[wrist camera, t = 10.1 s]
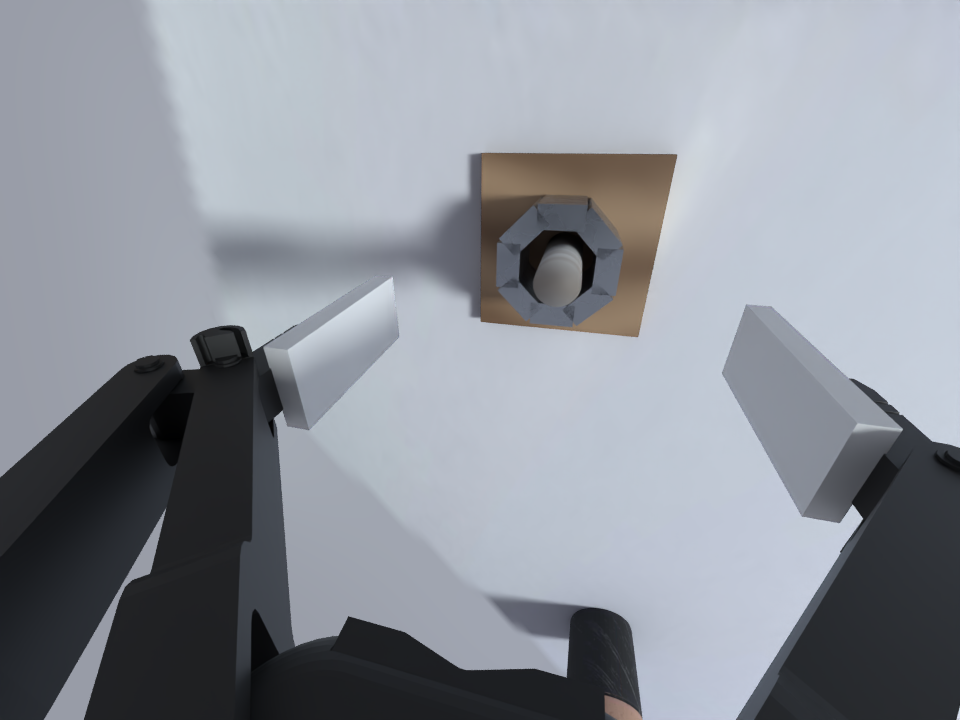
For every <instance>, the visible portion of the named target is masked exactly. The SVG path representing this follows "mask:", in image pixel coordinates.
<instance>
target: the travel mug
mask: <svg viewBox="0 0 960 720" xmlns="http://www.w3.org/2000/svg"><path fill="white" fill-rule="evenodd" d="M567 678H569V679H573V680H577V681H580V682H584V683H587V684H591V685H594V686H598V687H601V688H604V692H605V712H606V713H607V714H609V715H610V716H612V717H614V718H615V719H617V720H642V711H641V703H640V695H639V687H638V678H637V670H636V662H635V654H634V646H633V638H632V632H631V628H630V625H629V624H628V622H627V621H626V620H625V619H624V618H622V617H621V616H619V615H617V614H615V613H613V612H611V611H607V610H603V609H596V608H590V609H583V610H580V611H578V612H576V613H575V614H574V615H573V616H572V619H571V624H570V637H569V652H568V667H567Z"/></svg>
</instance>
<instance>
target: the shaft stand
mask: <svg viewBox="0 0 960 720" xmlns="http://www.w3.org/2000/svg"><path fill="white" fill-rule="evenodd" d="M676 159H677V155H675V154H552V153H482V179H481V322H488V323H498V324H508V325H519V326H529V327H539V328H549V329H560V330H570V331H580V332H590V333H601V334H611V335H621V336H631V337H638V335H639V330H640V326H641V321H642V316H643V312H644V307H645V302H646V298H647V293H648V288H649V284H650V279H651V275H652V270H653V265H654V261H655V256H656V251H657V247H658V242H659V237H660V233H661V228H662V224H663V219H664V214H665V210H666V205H667V200H668V196H669V191H670V186H671V182H672V177H673V173H674V168H675V163H676ZM545 195H580V196H588V200H589V199H590V198H592V199H593V200H594V201H595V203H596V204H597V205H598V206H599V208H600V209H601V210H602V211H603V213H604V214H605V215H606V216H607V218H608V219H609V220H610V221H611V223H612V224H613V225H614V226H615V228H616V229H617V231H618V234H619V236H620V239H621V242H622V246H623V249H624V252H623V257H622V263H621V269H620V274H619V280H618V286H617V291H616V296H613V300H612V301H611V302H609V303H608V304H607V305H605V306H604V307H602V308H601V309H600V310H598V311H597V312H596V313H594V314H593V315H591V316H590V317H589V318H587V319H586V320H584V321H583V322H582V323H580V324H579V325H577V326H576V325H575V324H574V323H573V327H564V326H553V325H543V324H532V323H530V319H528V320H527V321H525V320H524V319H523V318H522V317H521V315H520V314H519V313H518V312H517V311H516V310H515V309H514V308H513V307H512V306H511V305H510V303H509V302H508V301H507V300H506V299H505V298H504V297H503V296H502V295H501V294H500V293H499V291H498V289H499V287H496V271H497V242H498V241H499V240H500V239H499V238H500V237H501V236H502V235H503V234H504V233H505V232H506V231H507V230H508V229H509V228H510V227H511V226H512V225H513V224H514V223H515V222H516V221H517V220H518V219H519V218H520V217H521V216H522V215H523V214H524V213H525V212H526V211H527V210H528V209H529V208H530V207H531V206H532V205H533V204H535V203H536V202H537V201H538V200H539V199H540V198H541V197H542V196H543V197H544V196H545ZM592 258H593V251H592V250H591V249H590V247H589V246H588V245H587V244H586V243H585V241H584V240H583V239H582V238H581V236H580V235H579V234H578V233H577V232H575V231H554V230H543V231H542V232H541V233H540V234H539V235H538V236H537V237H536V238H535V239H533V240H532V241H531V242H530V252H529V262H530V263H531V264H532V266H533V267H534V268H535V269H536V270H537V272H536V274H535V277H534V280H533V288H534V292H535V294H536V296H537V297H538V299H539V300H540V301H541V302H543V303H544V304H546V305H548V306H552V307H562V306H565V305H568V304H570V303H571V302H573V301H574V300H575V299H576V298H577V296H578V295H579V293H580V290H581V283H582V273H583V272H584V271H585V270H586V269H588V268H589V267H590V266H591V265H592Z"/></svg>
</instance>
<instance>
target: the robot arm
mask: <svg viewBox="0 0 960 720" xmlns="http://www.w3.org/2000/svg"><path fill="white" fill-rule="evenodd" d="M398 338H399V330H398V321H397V312H396V303H395V294H394V285H393V277H390V276H377V275H375V276H374V277H372V278H371V279H369V280H368V281H366V282H364V283H363V284H361V285H360V286H358V287H356V288H355V289H353V290H352V291H350V292H349V293H347V294H345V295H344V296H342V297H341V298H339V299H338V300H336V301H334V302H333V303H331V304H330V305H328V306H327V307H325V308H323V309H322V310H320V311H319V312H317V313H316V314H314V315H312V316H311V317H309V318H308V319H306V320H305V321H303V322H301V323H300V324H298V325H295V326H293V327H291V328H290V329H288V330H287V331H285V332H284V334H280V335H279V336H277V337H275V339H272V340H271V341H269V342H268V343H266V344H264V345H263V346H261V347H260V348H258V349H256V350H255V351H253V352H252V349H251V346H250V343H249V340H248V337H247V334H246V331H245V329H244V328H243V327H240V326H233V325H229V326H219V327H215V328H210V329H207V330H205V331H202V332H199V333H198V334H196V335H195V336H193V337H192V338H191V339H190V342H191V344H192V346H193V349H194V351H195V354H196V356H197V359H198V361H199V364H200V366H201V367H200V369H196V370H182V369H181V366H180V364H179V362H178V360H177V358H176V357H175V356H171V355H157V356H152V355H151V356H146V357H145V358H144V357H143V358H140V359H137V361H135V362H132V363H130V364H128V365H127V366H125V367H124V368H122V369H121V370H120V371H119V372H118V373H116V374H115V375H114V376H113V377H112V378H111V379H110V380H109V381H107V382H106V383H105V384H104V385H103V386H102V387H101V388H100V389H99V390H97V392H95V393H94V394H93V395H92V396H91V397H90V398H89V399H87V401H85V402H84V403H83V404H82V405H81V406H80V407H78V409H76V410H75V411H74V412H73V413H72V414H71V415H70V416H68V417H67V418H66V419H65V420H64V421H63V422H62V423H61V424H60V425H58V426H57V427H56V428H55V429H54V430H53V431H52V432H51V433H49V434H48V436H46V437H45V438H44V439H43V440H42V441H41V442H39V443H38V444H37V445H36V446H35V447H34V448H33V449H32V450H31V451H29V452H28V453H27V454H26V455H25V456H24V457H23V458H22V459H21V460H19V461H18V462H17V463H16V464H15V465H14V466H13V467H12V468H10V469H9V470H8V471H7V472H6V473H5V474H4V475H3V476H1V477H0V720H44V718H45V717H46V715H47V713H48V712H49V710H50V709H51V707H52V705H53V703H54V702H55V700H56V698H57V696H58V695H59V693H60V691H61V689H62V688H63V686H64V684H65V682H66V681H67V679H68V677H69V676H70V674H71V672H72V670H73V668H74V667H75V665H76V663H77V662H78V660H79V658H80V656H81V655H82V653H83V651H84V649H85V648H86V646H87V644H88V643H89V641H90V639H91V637H92V636H93V634H94V632H95V630H96V629H97V627H98V625H99V623H100V622H101V620H102V618H103V616H104V615H105V613H106V611H107V609H108V608H109V606H110V604H111V603H112V601H113V599H114V597H115V595H116V594H117V592H118V590H119V589H120V587H121V585H122V583H123V582H124V580H125V578H126V576H127V575H128V573H129V571H130V569H131V568H132V566H133V564H134V562H135V561H136V559H137V557H138V556H139V554H140V552H141V550H142V549H143V547H144V545H145V543H146V542H147V540H148V538H149V536H150V534H151V533H152V531H153V529H154V528H155V526H156V524H157V522H158V521H159V519H160V517H161V516H162V514H163V512H164V510H165V509H166V512H165V516H164V521H163V524H162V529H161V533H160V537H159V541H158V545H157V549H156V554H155V557H154V562H153V566H152V570H151V573H150V574H149V575H146V576H143V577H140V578H137V579H134V580H132V581H131V582H130V583H129V584H128V585H127V586H126V587H125V589H124V591H123V593H122V595H121V597H120V600H119V603H118V606H117V609H116V613H115V616H114V620H113V623H112V626H111V630H110V633H109V637H108V640H107V643H106V647H105V650H104V653H103V657H102V660H101V664H100V667H99V670H98V674H97V677H96V680H95V684H94V687H93V691H92V694H91V698H90V701H89V704H88V707H87V711H86V715H85V718H84V720H617V719H615V718H614V717H612V716H610V715H609V714H607V713H606V712H605V692H604V688H601V687H598V686H594V685H591V684H587V683H584V682H580V681H577V680H573V679H569V678H566V677H562V676H559V675H555V674H551V673H548V672H544V671H541V670H537V669H508V670H507V669H506V670H463V669H460V668H458V667H456V666H455V665H453V664H452V663H450V662H449V661H447V660H446V659H444V658H443V657H441V656H440V655H438V654H437V653H435V652H434V651H432V650H430V649H429V648H428V647H426V646H425V645H423V644H422V643H420V642H419V641H417V640H416V639H414V638H413V637H411V636H410V635H408V634H407V633H405V632H402V631H398V630H395V629H391V628H388V627H384V626H381V625H377V624H373V623H370V622H366V621H363V620H359V619H356V618H352V617H349V616H348V618H347V620H346V623H345V624H344V626H343V628H342V630H341V632H340V634H339V636H332V637H326V638H321V639H316V640H313V641H310V642H307V643H304V644H301V645H298V646H296V647H295V644H294V640H293V635H292V627H291V614H290V601H289V587H288V573H287V560H286V547H285V532H284V518H283V504H282V491H281V478H280V464H279V450H278V436H277V427H276V424H275V420H274V417H276V416H277V415H278V414H279V413H280V412H281V411H282V410H283V413H284V417H285V420H286V423H287V426H289V427H295V428H300V429H306V430H310V429H311V428H312V427H313V426H314V425H315V424H316V423H317V422H318V420H319V419H320V418H321V417H322V416H323V415H324V414H325V413H326V412H327V411H328V410H329V409H330V408H331V407H332V406H333V405H334V404H335V403H336V402H337V401H338V400H339V399H340V398H341V397H342V396H343V395H344V394H345V393H346V392H347V390H348V389H349V388H350V387H351V386H352V385H353V384H354V383H355V382H356V381H357V380H358V379H359V378H360V377H361V376H362V375H363V374H364V373H365V372H366V371H367V370H368V369H369V368H370V367H371V366H372V365H373V364H374V363H375V361H376V360H377V359H378V358H379V357H380V356H381V355H382V354H383V353H384V352H385V351H386V350H387V349H388V348H389V347H390V346H391V345H392V344H393V343H394V342H395V341H396V340H397V339H398ZM722 374H723V376H724V378H725V380H726V381H727V383H728V385H729V387H730V389H731V390H732V392H733V394H734V396H735V398H736V399H737V401H738V403H739V405H740V407H741V408H742V410H743V412H744V414H745V415H746V417H747V419H748V421H749V423H750V424H751V426H752V428H753V430H754V432H755V433H756V435H757V437H758V439H759V441H760V442H761V444H762V446H763V448H764V449H765V451H766V453H767V455H768V457H769V458H770V460H771V462H772V464H773V466H774V467H775V469H776V471H777V473H778V475H779V476H780V478H781V480H782V482H783V483H784V485H785V487H786V489H787V491H788V492H789V494H790V496H791V498H792V500H793V501H794V503H795V505H796V507H797V509H798V510H799V512H800V514H801V516H802V517H808V518H814V519H820V520H825V521H831V522H837V523H840V522H841V521H842V519H843V518H844V516H845V515H846V513H847V512H848V510H849V509H850V507H851V506H852V504H853V505H854V506H855V508H856V509H857V511H858V512H859V513H860V515H861V516H862V518H863V520H862V522H861V523H860V524H859V526H858V527H857V529H856V530H855V531H854V533H853V534H852V536H851V537H850V538H849V540H848V541H847V543H846V544H845V545H844V547H843V548H842V550H841V551H840V552H841V554H840V555H839V557H838V559H837V560H836V562H835V563H834V565H833V567H832V568H831V570H830V571H829V573H828V574H827V576H826V578H825V579H824V581H823V582H822V584H821V586H820V587H819V589H818V590H817V592H816V594H815V595H814V597H813V598H812V600H811V601H810V603H809V605H808V606H807V608H806V609H805V611H804V613H803V614H802V616H801V617H800V619H799V620H798V622H797V624H796V625H795V627H794V628H793V630H792V632H791V633H790V635H789V636H788V638H787V640H786V641H785V643H784V644H783V646H782V647H781V649H780V651H779V652H778V654H777V655H776V657H775V659H774V660H773V662H772V663H771V665H770V667H769V668H768V670H767V671H766V673H765V674H764V676H763V678H762V679H761V681H760V682H759V684H758V686H757V687H756V689H755V690H754V692H753V694H752V695H751V697H750V698H749V700H748V701H747V703H746V705H745V706H744V708H743V709H742V711H741V713H740V714H739V716H738V717H737V719H736V720H956V719H957V715H958V711H959V707H960V448H958V447H955V446H952V445H948V444H943V443H937V442H932V441H931V440H930V439H929V438H928V437H926V436H925V435H924V434H923V433H922V432H921V431H920V430H919V429H917V428H916V427H915V426H914V425H913V424H912V423H911V422H910V421H908V420H907V419H906V418H905V417H904V416H903V415H899V412H898V411H897V410H896V409H895V408H894V407H893V406H891V405H888V402H887V401H886V400H885V399H884V398H882V397H881V396H880V395H879V394H878V393H877V392H876V391H875V390H873V389H871V388H869V387H867V386H866V385H864V384H862V383H860V382H858V381H856V380H855V379H849V378H848V377H846V376H845V375H844V374H843V373H842V372H841V371H840V370H839V369H838V368H837V367H836V366H835V365H834V364H832V363H831V362H830V361H829V360H828V359H827V358H826V357H825V356H824V355H823V354H822V353H821V352H820V351H819V350H817V349H816V348H815V347H814V346H813V345H812V344H811V343H810V342H809V341H808V340H807V339H806V338H805V337H803V336H802V335H801V334H800V333H799V332H798V331H797V330H796V329H795V328H794V327H793V326H792V325H791V324H789V323H788V322H787V321H786V320H785V319H784V318H783V317H782V316H781V315H780V314H779V313H778V312H777V311H776V310H774V309H773V308H772V307H770V306H757V305H746V307H745V310H744V312H743V315H742V318H741V321H740V324H739V327H738V329H737V332H736V335H735V338H734V341H733V343H732V346H731V349H730V352H729V355H728V358H727V360H726V363H725V366H724V369H723V372H722ZM166 507H167V508H166Z"/></svg>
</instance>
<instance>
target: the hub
mask: <svg viewBox="0 0 960 720" xmlns="http://www.w3.org/2000/svg"><path fill="white" fill-rule="evenodd" d="M543 230H554V231H575V232H577V233H578V234H579V235H580V236H581V238H582V239H583V240H584V241H585V243H586V244H587V245H588V246H589V247H590V249H591V250H592V251H593V258H592V265H591V266H590V267H589V268H588V269H586V270H585V271H584V272H583V273H582V283H581V290H580V293H579V295H578V296H577V298H576V299H575V300H574V301H573V302H571V303H570V304H568V305H565V306H562V307H552V306H548V305H546V304H544V303H543V302H541V301H540V300H539V299H538V297H537V296H536V294H535V292H534V288H533V280H534V277H535V274H536V272H537V270H536V269H535V268H534V267H533V266H532V264H531V263H530V262H529V252H530V242H531V241H532V240H533V239H535V238H536V237H537V236H538V235H539V234H540V233H541V232H542V231H543ZM499 239H500V240H499V241H498V242H497V271H496V287H499V289H498V291H499V293H500V294H501V295H502V296H503V297H504V298H505V299H506V300H507V301H508V302H509V303H510V305H511V306H512V307H513V308H514V309H515V310H516V311H517V312H518V313H519V314H520V315H521V317H522V318H523V319H524V320H525V321H527V320H528V319H530V323H532V324H543V325H553V326H564V327H573V323H574V324H575V325H576V326H577V325H579V324H580V323H582V322H583V321H584V320H586V319H587V318H589V317H590V316H591V315H593V314H594V313H596V312H597V311H598V310H600V309H601V308H602V307H604V306H605V305H607V304H608V303H609V302H611V301H612V300H613V296H616V291H617V286H618V280H619V274H620V269H621V263H622V257H623V252H624V249H623V246H622V242H621V239H620V236H619V234H618V231H617V229H616V228H615V226H614V225H613V224H612V223H611V221H610V220H609V219H608V218H607V216H606V215H605V214H604V213H603V211H602V210H601V209H600V208H599V206H598V205H597V204H596V203H595V201H594V200H593V199H592V198H590V199H589V200H588V196H580V195H545V196H544V197H543V196H542V197H541V198H540V199H539V200H538V201H537V202H536V203H535V204H533V205H532V206H531V207H530V208H529V209H528V210H527V211H526V212H525V213H524V214H523V215H522V216H521V217H520V218H519V219H518V220H517V221H516V222H515V223H514V224H513V225H512V226H511V227H510V228H509V229H508V230H507V231H506V232H505V233H504V234H503V235H502V236H501V237H500V238H499Z"/></svg>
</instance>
